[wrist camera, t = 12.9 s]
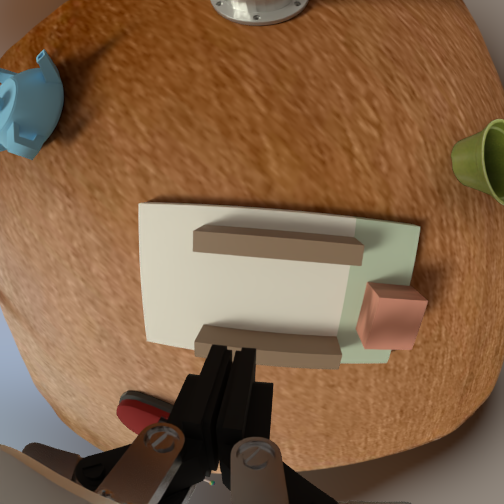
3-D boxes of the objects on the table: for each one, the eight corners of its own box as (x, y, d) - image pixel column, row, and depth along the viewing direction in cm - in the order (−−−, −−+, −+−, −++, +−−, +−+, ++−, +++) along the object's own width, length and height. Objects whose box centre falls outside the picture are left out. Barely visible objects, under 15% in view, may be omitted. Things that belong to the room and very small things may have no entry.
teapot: (9, 156, 32) (-36, 158, 22) (27, 76, 29) (-15, 66, 18) (59, 159, 32) (5, 160, 21) (83, 63, 28) (35, 43, 17)
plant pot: (497, 162, 25) (538, 163, 17) (471, 214, 28) (513, 225, 19) (457, 113, 25) (497, 101, 16) (429, 165, 27) (470, 163, 19)
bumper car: (125, 379, 40) (97, 417, 30) (235, 428, 40) (225, 474, 30) (120, 410, 42) (97, 445, 33) (217, 453, 43) (206, 493, 33)
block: (367, 281, 29) (379, 297, 25) (411, 286, 29) (428, 300, 25) (355, 328, 31) (364, 349, 27) (398, 330, 30) (411, 349, 26)
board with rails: (146, 202, 32) (120, 206, 26) (413, 224, 29) (437, 233, 23) (152, 333, 36) (134, 356, 30) (382, 354, 34) (395, 381, 28)
